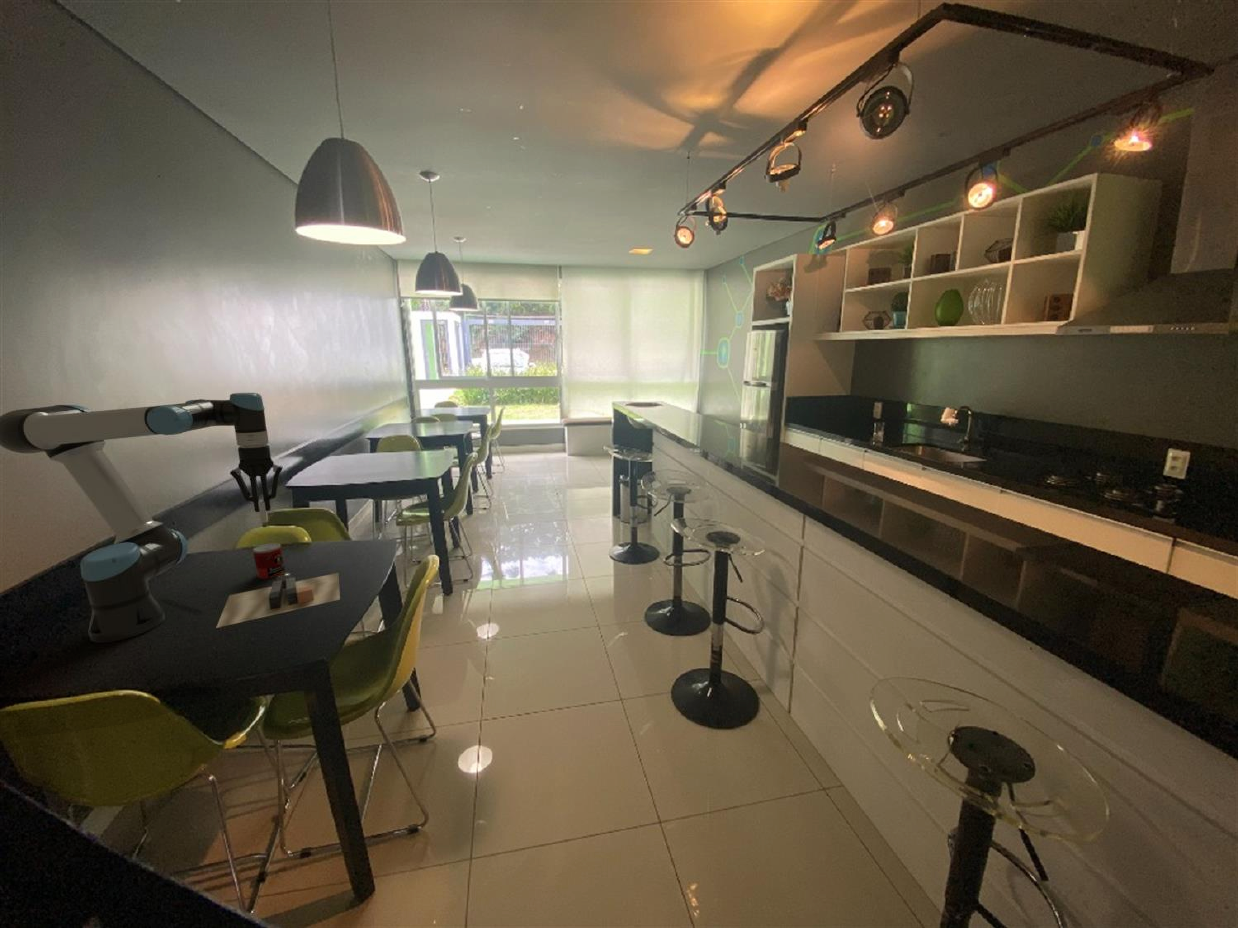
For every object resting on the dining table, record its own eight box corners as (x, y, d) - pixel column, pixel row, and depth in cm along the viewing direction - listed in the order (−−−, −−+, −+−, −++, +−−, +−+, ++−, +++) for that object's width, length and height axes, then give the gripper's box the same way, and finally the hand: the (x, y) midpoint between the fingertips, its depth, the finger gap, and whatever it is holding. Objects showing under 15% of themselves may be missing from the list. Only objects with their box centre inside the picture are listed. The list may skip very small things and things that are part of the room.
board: (216, 631, 135) (216, 627, 135) (230, 598, 153) (229, 595, 153) (340, 602, 150) (339, 599, 149) (339, 575, 168) (338, 572, 168)
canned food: (272, 582, 164) (266, 552, 161) (252, 580, 166) (246, 550, 163) (291, 572, 171) (286, 543, 169) (272, 571, 173) (267, 542, 170)
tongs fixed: (276, 585, 159) (273, 574, 158) (292, 582, 161) (291, 571, 160) (270, 609, 144) (268, 597, 143) (289, 605, 146) (287, 593, 145)
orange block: (298, 603, 147) (296, 592, 147) (299, 599, 150) (297, 588, 149) (314, 599, 149) (312, 589, 148) (314, 595, 152) (312, 585, 151)
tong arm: (287, 588, 157) (285, 578, 156) (296, 586, 158) (295, 576, 157) (288, 605, 146) (286, 594, 145) (298, 602, 148) (296, 592, 147)
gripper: (223, 449, 137) (236, 528, 143) (278, 446, 144) (289, 521, 149) (228, 445, 144) (240, 520, 149) (281, 442, 150) (291, 514, 155)
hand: (264, 521), depth 149 cm, fingers closed
